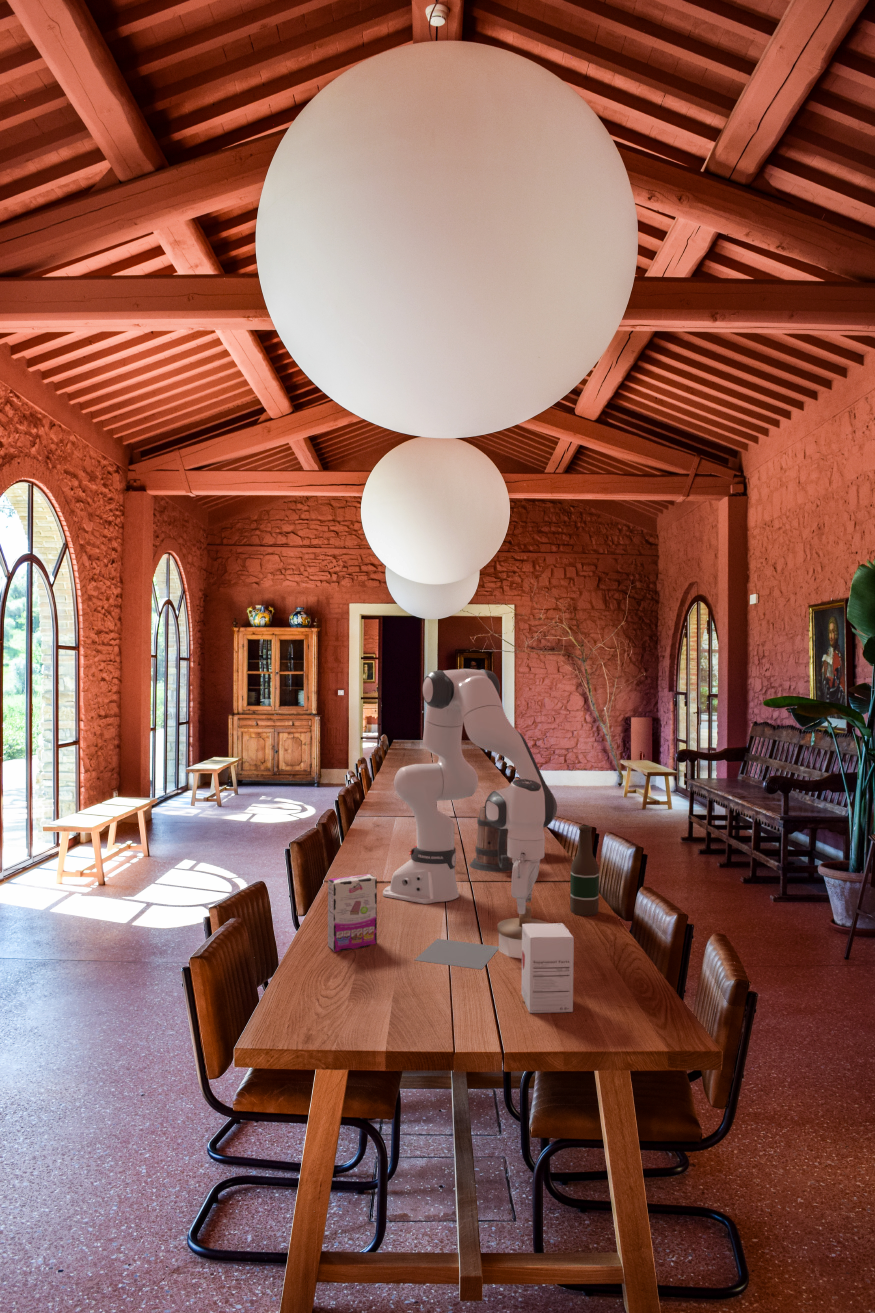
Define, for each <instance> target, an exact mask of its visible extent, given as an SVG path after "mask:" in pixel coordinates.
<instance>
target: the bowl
mask: <svg viewBox="0 0 875 1313" xmlns="http://www.w3.org/2000/svg"><path fill="white" fill-rule="evenodd" d="M498 947H499V949H498V951H499V952H501V953H502V954H503V955H505V956H507V957H509V958H515V959H516V958H517V959H521V960H522V940H518V939H512V938H508V937H505V936H503V935H501V934H500V933H499V932H498Z"/></svg>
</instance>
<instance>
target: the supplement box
mask: <svg viewBox="0 0 875 1313" xmlns="http://www.w3.org/2000/svg"><path fill="white" fill-rule="evenodd" d="M574 939H575V938H574V936H573V934H571V932H570V930H569V929H568V928H567V926H566V925H565V924H564V923H562V922H558V923H557V922H556V923H554V922H553V923H549V924H534V923H529V924H522V959H521V996H522V999H523V1000H524V1001H523V1002H524V1003H525V1006H526V1009H527V1010H528V1013H529V1014H545V1013H546V1014H547V1013H549V1014H551V1013H556V1014H557V1013H573V1011H574V957H575V955H574V954H575V953H574V948H575V943H574Z"/></svg>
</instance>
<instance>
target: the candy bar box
mask: <svg viewBox="0 0 875 1313" xmlns="http://www.w3.org/2000/svg"><path fill="white" fill-rule="evenodd" d="M377 887H378V882H377V877H376V876H374V875H372V874H370V873H367V874H359V875H358V874H357V875H352V876H350V875H349V876H342V877H334V878H328V879H327V947H328V948H329V949H330V950H332V952H334V953H337V952H345V951H350V950H356V949H362V948H368V947H370V946H371V945H375V944H378V943H377V940H378V938H377V936H378V933H377V932H378V926H377V923H378V920H377V918H378V914H377V913H378V911H377V906H378V905H377V904H378V903H377V902H378V901H377V900H378V899H377V897H378V894H377V893H378V888H377Z"/></svg>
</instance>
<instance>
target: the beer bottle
mask: <svg viewBox="0 0 875 1313" xmlns="http://www.w3.org/2000/svg"><path fill="white" fill-rule="evenodd" d="M578 830H579V833H578V843H577V844H578V846H577V847H578V848H577V853H576V855H575V857H574V858H573V859H572V862H571V863H570V864H571V866H570V878H569V879H570V892H569V893H570V894H569V895H570V896H569V901H570V904H569V908H570V912H571V913H573V914H574V915H576V916H581V917H582V916H583V917H590V916H591V917H593V916H595V915H597V914H598V913H599V905H600V904H599V903H600V902H599V901H600V900H599V898H600V895H599V894H600V892H599V891H600V871H599V870H600V868H599V864H598V861H597V859H596V858H595V856H594V853H593V844H592V843H593V842H592V841H593V840H592V831H593V828H592V826H591V825H588V824H581V825H578Z"/></svg>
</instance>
